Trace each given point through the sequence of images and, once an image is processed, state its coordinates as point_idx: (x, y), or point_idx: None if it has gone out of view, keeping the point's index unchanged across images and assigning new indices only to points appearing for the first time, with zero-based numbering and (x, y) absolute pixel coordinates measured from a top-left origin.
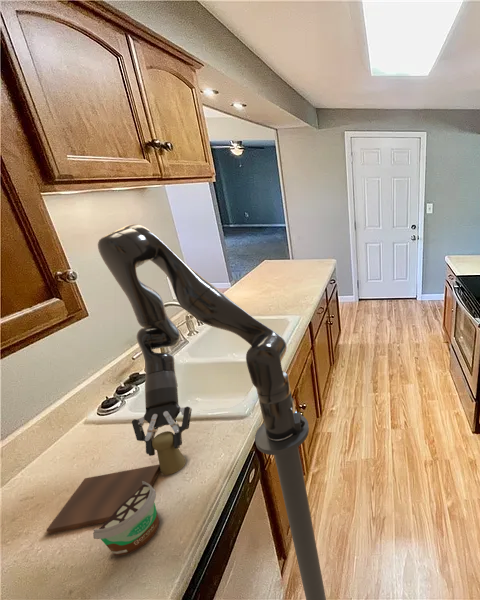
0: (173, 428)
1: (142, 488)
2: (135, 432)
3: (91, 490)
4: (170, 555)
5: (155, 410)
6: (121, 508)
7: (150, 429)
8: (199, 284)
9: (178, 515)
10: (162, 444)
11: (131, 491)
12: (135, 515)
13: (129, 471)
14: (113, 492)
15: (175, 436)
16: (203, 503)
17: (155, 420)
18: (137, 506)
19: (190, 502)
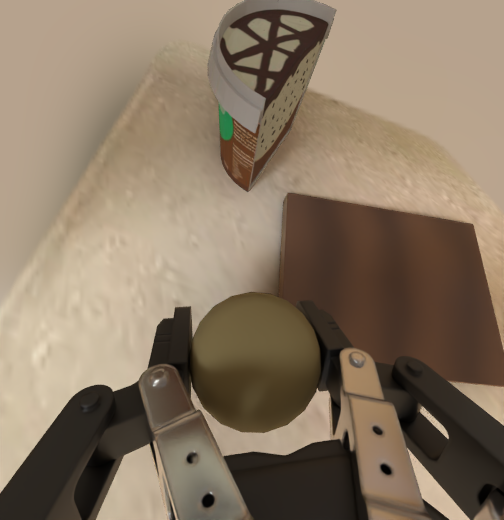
0: (181, 398)
1: (256, 91)
2: (480, 410)
3: (452, 316)
4: (179, 85)
5: None
6: (293, 47)
7: (369, 405)
8: None
9: (179, 161)
10: (245, 294)
11: (328, 265)
12: (241, 12)
13: None
14: (380, 283)
15: (176, 349)
16: (116, 168)
17: (368, 497)
18: (247, 40)
19: (152, 185)
